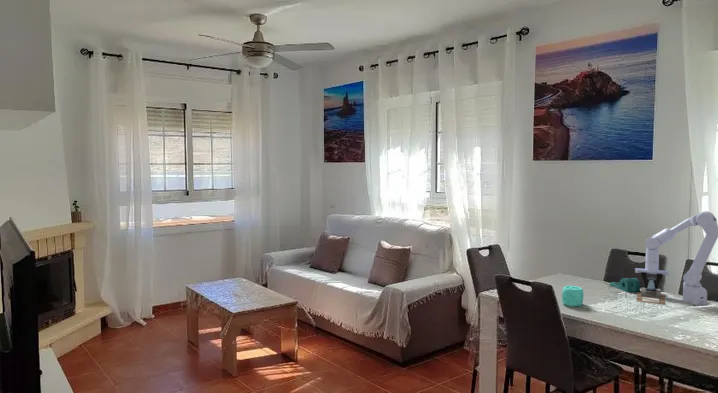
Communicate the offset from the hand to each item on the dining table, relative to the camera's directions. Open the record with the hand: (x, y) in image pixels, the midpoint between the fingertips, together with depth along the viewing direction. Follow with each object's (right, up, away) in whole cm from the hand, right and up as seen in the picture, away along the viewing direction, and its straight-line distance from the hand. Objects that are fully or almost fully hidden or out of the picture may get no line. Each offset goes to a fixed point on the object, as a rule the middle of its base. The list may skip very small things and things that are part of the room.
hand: (651, 288), depth 254 cm
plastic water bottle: (0, -3, 0) cm, 3 cm away
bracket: (-6, -4, +15) cm, 17 cm away
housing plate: (-3, -5, -5) cm, 7 cm away
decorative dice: (-44, -6, -12) cm, 46 cm away
